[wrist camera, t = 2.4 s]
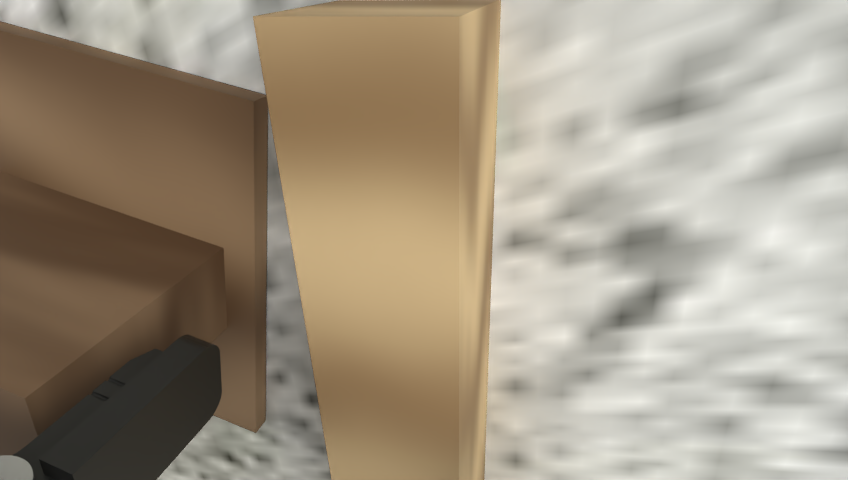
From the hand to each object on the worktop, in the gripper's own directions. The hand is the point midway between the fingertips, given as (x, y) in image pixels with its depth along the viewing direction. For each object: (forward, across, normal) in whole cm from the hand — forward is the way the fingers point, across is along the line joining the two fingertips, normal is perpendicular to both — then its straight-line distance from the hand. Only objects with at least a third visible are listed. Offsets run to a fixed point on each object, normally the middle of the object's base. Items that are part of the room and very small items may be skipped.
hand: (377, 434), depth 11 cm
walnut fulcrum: (+4, +10, +1) cm, 11 cm away
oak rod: (+4, 0, 0) cm, 4 cm away
